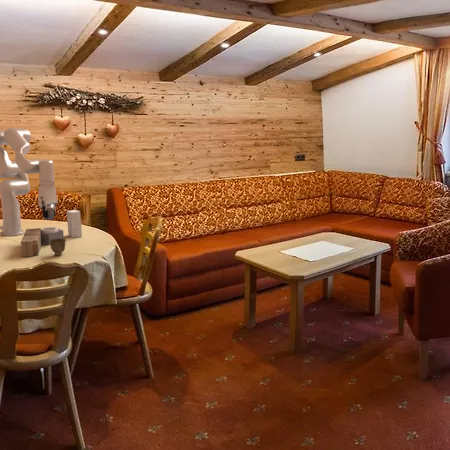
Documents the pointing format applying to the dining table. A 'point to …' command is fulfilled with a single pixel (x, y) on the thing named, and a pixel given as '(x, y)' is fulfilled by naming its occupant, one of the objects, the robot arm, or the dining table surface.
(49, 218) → the lens
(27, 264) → the dining table surface
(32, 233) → the block tower
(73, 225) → the skincare box
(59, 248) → the cup
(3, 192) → the robot arm
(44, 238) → the camera body
